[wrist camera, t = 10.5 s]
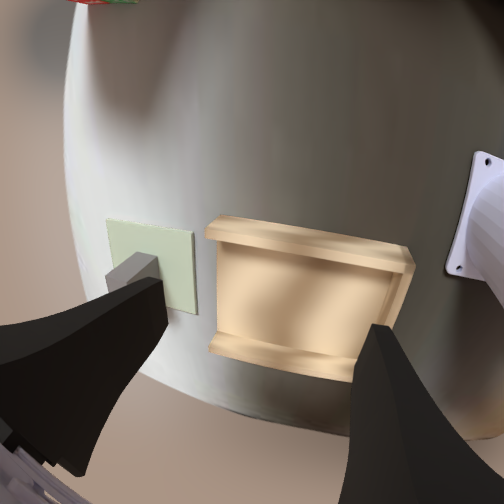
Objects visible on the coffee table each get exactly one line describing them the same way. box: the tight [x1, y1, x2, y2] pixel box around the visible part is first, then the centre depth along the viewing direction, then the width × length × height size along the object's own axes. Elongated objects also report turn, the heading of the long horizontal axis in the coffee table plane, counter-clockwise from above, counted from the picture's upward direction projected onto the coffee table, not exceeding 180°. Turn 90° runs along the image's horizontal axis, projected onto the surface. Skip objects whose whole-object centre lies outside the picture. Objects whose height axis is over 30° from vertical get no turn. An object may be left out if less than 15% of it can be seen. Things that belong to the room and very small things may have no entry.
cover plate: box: [105, 218, 197, 314], centre depth 21 cm, size 8×7×5 cm
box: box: [205, 215, 416, 382], centre depth 18 cm, size 12×10×2 cm
